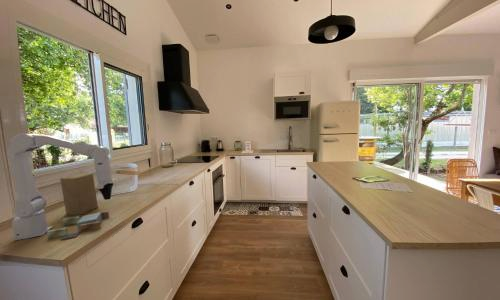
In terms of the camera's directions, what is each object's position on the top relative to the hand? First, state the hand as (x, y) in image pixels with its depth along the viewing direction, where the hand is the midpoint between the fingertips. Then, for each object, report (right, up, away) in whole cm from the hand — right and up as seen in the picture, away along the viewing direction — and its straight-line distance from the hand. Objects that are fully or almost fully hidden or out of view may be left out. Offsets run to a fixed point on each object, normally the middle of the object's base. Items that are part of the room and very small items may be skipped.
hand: (107, 199), depth 96 cm
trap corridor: (-9, -12, -4) cm, 15 cm away
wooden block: (-25, -10, +15) cm, 31 cm away
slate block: (-6, -12, -3) cm, 13 cm away
